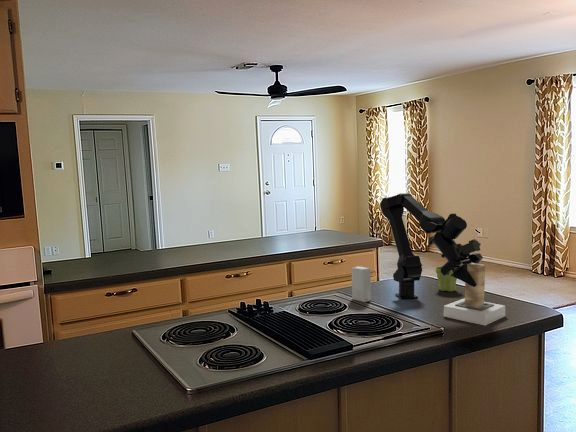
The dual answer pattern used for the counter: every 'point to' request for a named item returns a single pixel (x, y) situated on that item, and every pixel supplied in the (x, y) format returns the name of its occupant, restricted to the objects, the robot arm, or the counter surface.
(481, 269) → the peg
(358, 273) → the skincare box
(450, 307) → the socket block
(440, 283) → the plant pot
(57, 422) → the counter surface
